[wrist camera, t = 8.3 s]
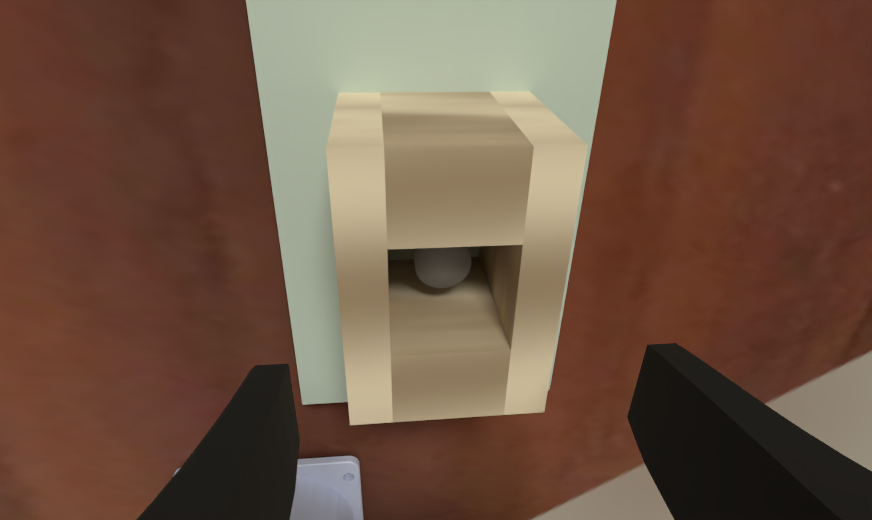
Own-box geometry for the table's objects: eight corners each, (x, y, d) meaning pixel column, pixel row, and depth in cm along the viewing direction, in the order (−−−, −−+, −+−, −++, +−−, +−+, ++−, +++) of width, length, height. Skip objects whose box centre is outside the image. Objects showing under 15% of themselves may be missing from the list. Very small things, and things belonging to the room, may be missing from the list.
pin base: (542, 373, 23) (572, 448, 20) (304, 386, 22) (293, 468, 19) (612, -61, 15) (683, -62, 12) (243, -71, 14) (203, -76, 11)
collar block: (506, 311, 20) (544, 412, 16) (354, 319, 19) (350, 425, 15) (529, 91, 16) (588, 145, 12) (338, 92, 15) (325, 149, 11)
